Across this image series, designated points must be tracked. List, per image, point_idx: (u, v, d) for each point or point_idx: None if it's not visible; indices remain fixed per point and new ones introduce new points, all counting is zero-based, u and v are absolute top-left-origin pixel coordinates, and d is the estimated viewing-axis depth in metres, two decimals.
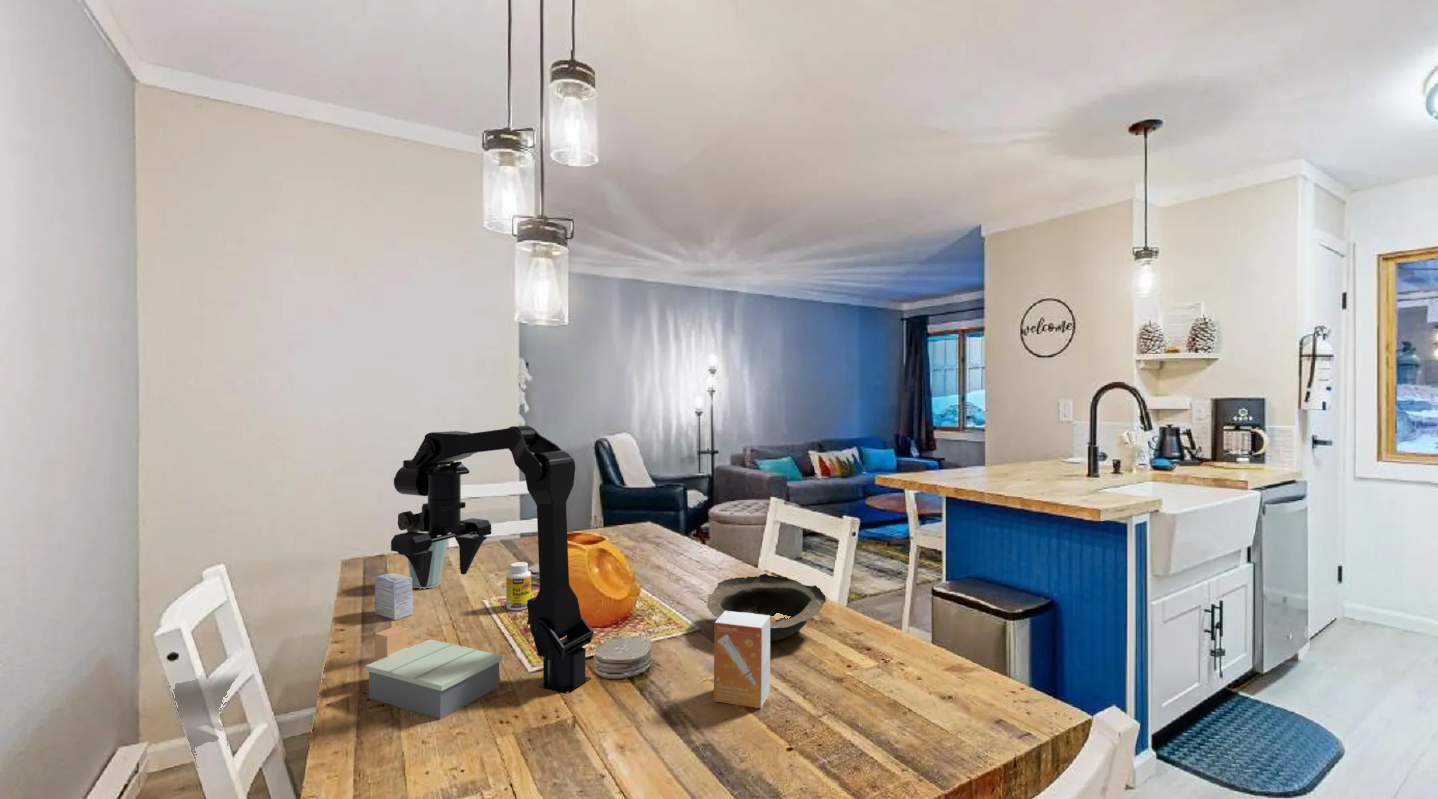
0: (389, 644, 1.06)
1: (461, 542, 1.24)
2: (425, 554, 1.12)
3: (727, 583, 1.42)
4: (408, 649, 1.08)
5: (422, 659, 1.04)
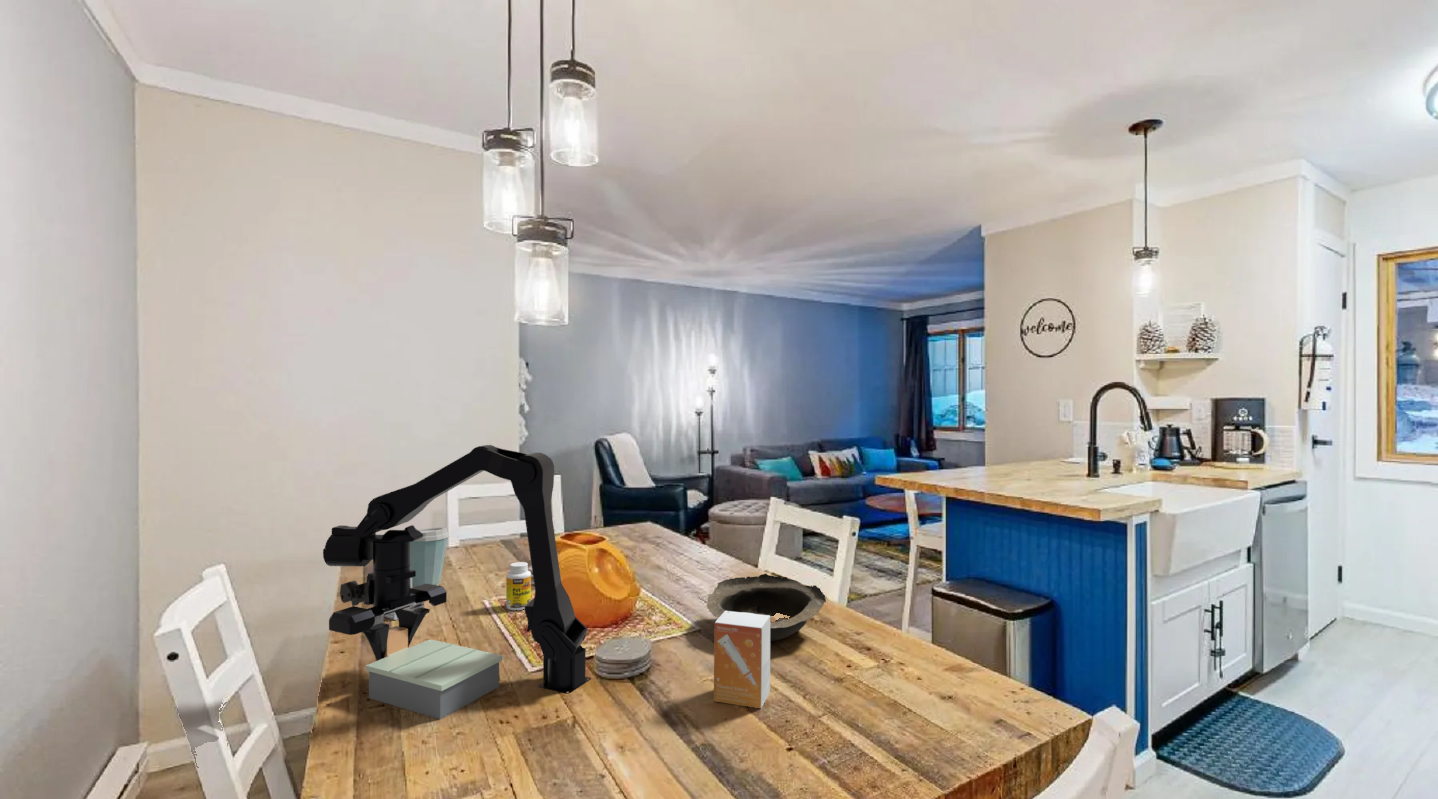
0: (389, 644, 1.06)
1: (400, 616, 1.11)
2: (381, 628, 1.03)
3: (727, 583, 1.42)
4: (408, 649, 1.08)
5: (422, 659, 1.04)
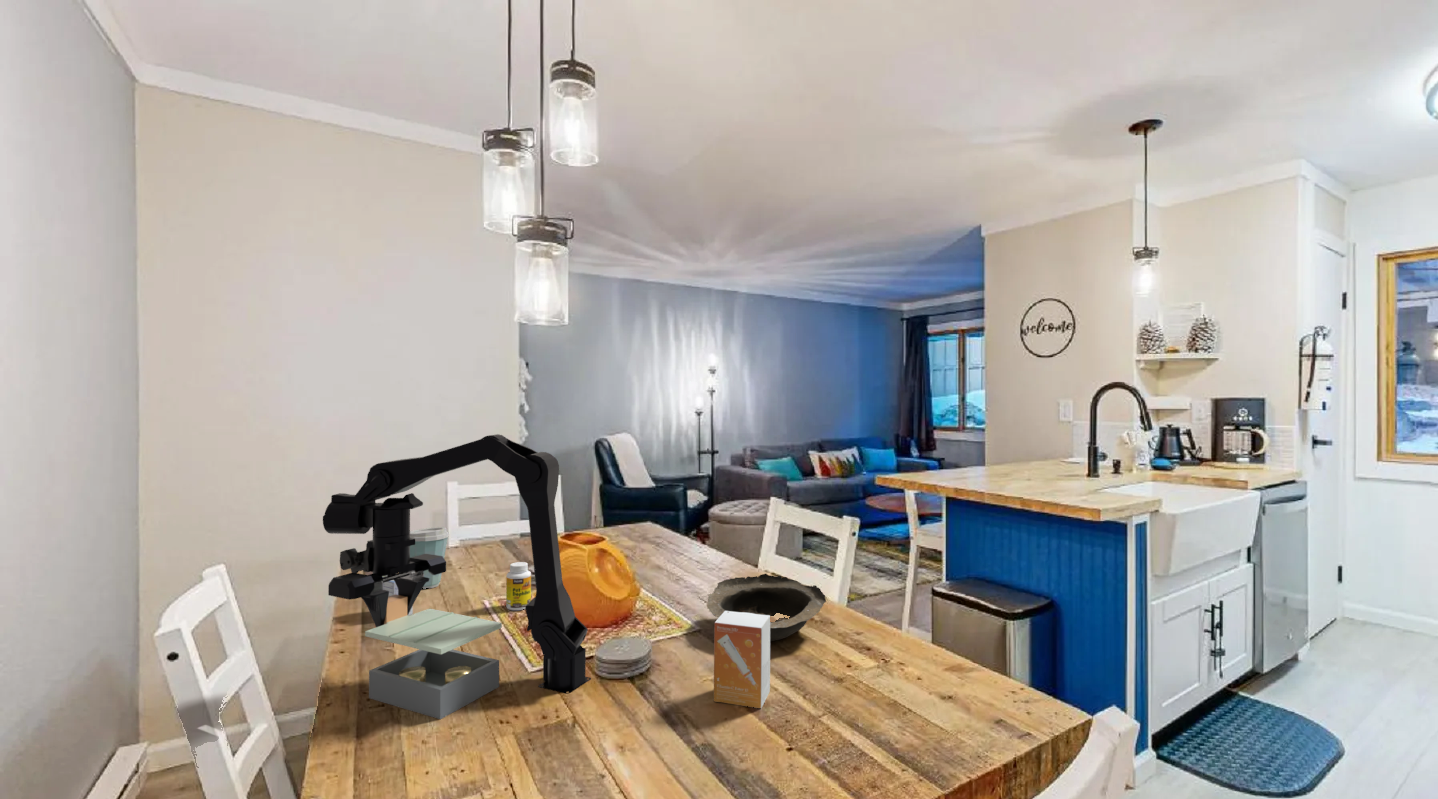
0: (389, 611, 1.06)
1: (400, 584, 1.11)
2: (380, 595, 1.03)
3: (727, 583, 1.42)
4: (407, 617, 1.08)
5: (421, 626, 1.04)
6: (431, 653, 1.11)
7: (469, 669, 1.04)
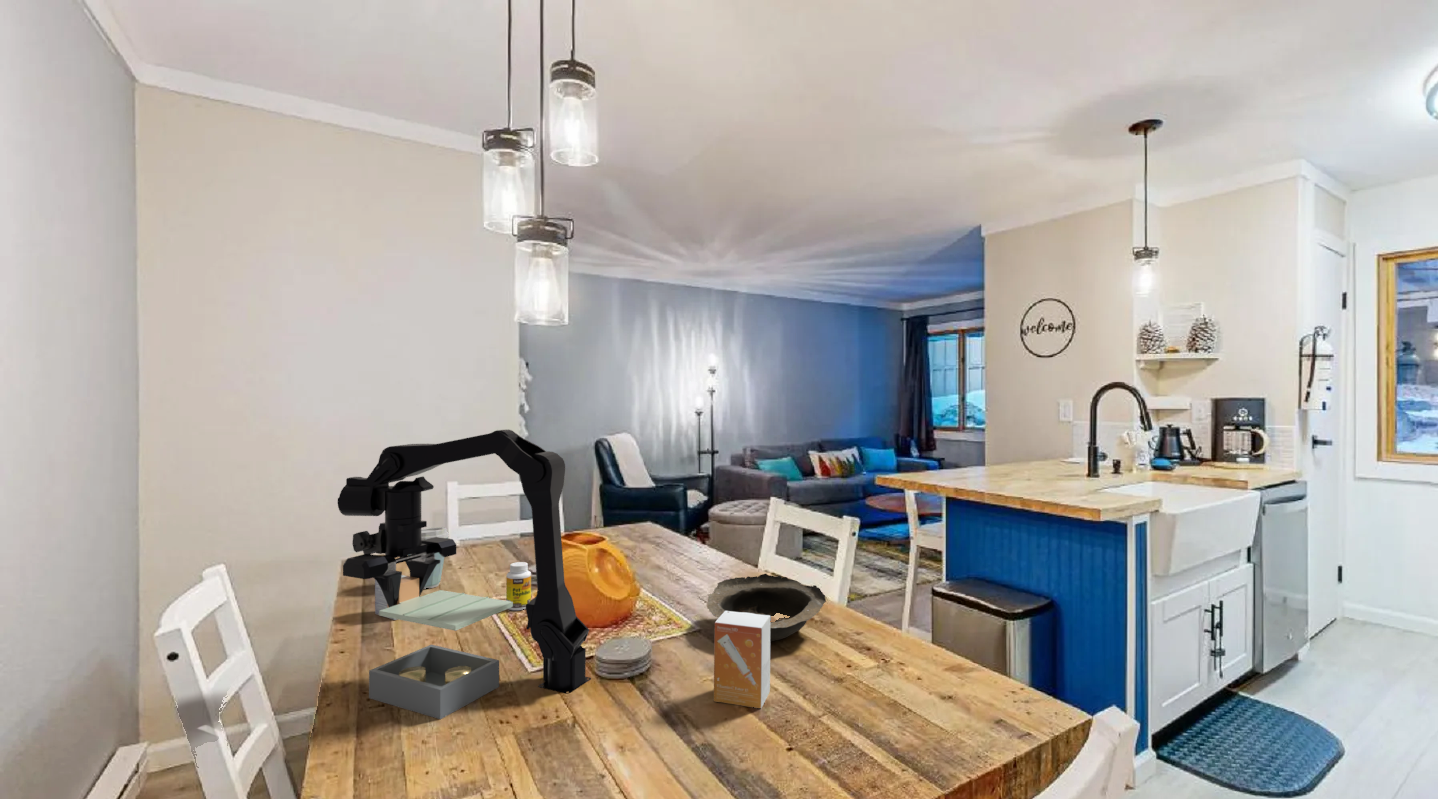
0: (401, 591, 1.08)
1: (411, 566, 1.13)
2: (394, 575, 1.05)
3: (727, 583, 1.42)
4: (419, 598, 1.10)
5: (434, 605, 1.06)
6: (431, 653, 1.11)
7: (469, 669, 1.04)
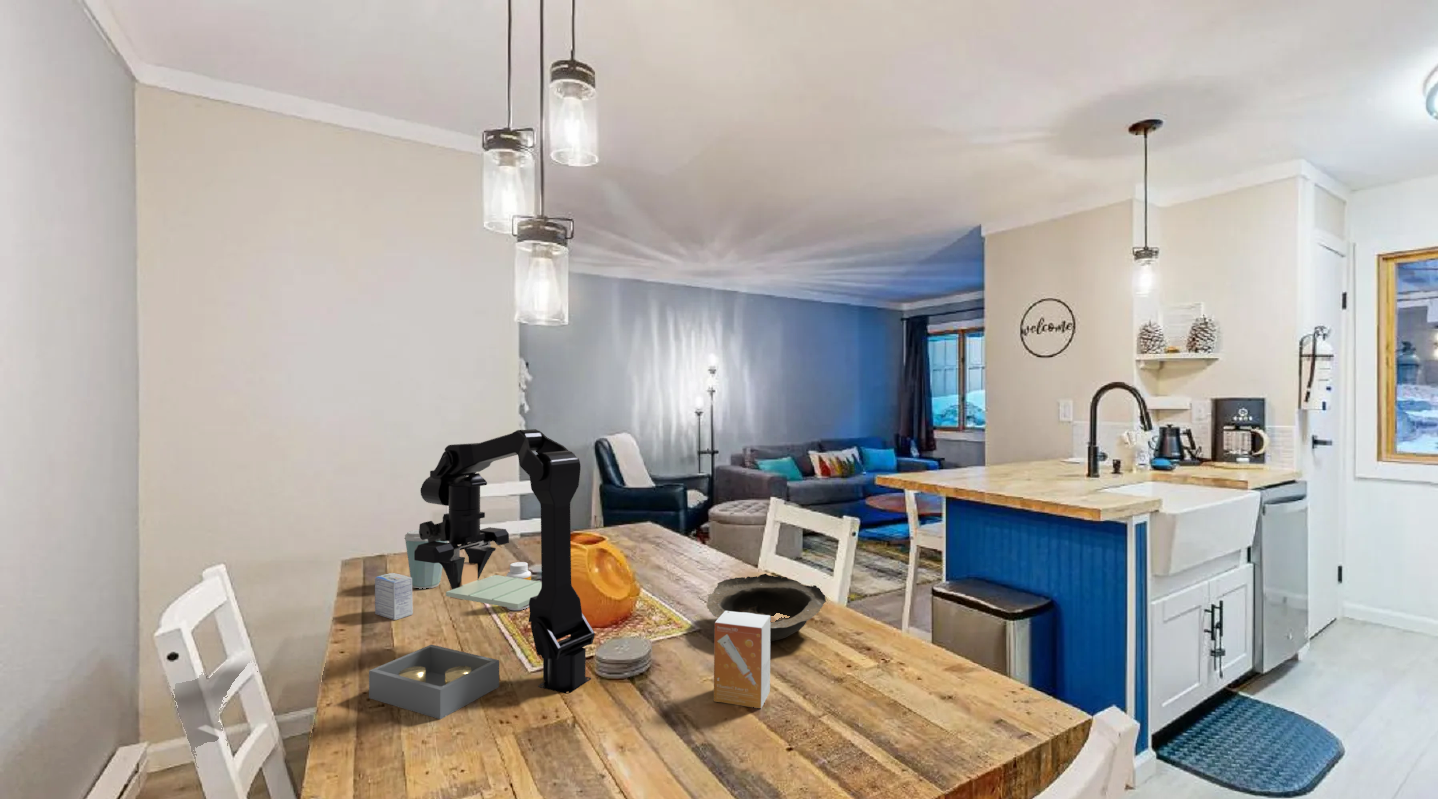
0: (463, 575, 1.21)
1: (470, 553, 1.25)
2: (458, 560, 1.17)
3: (727, 583, 1.42)
4: (478, 581, 1.23)
5: (494, 587, 1.19)
6: (431, 653, 1.11)
7: (469, 669, 1.04)
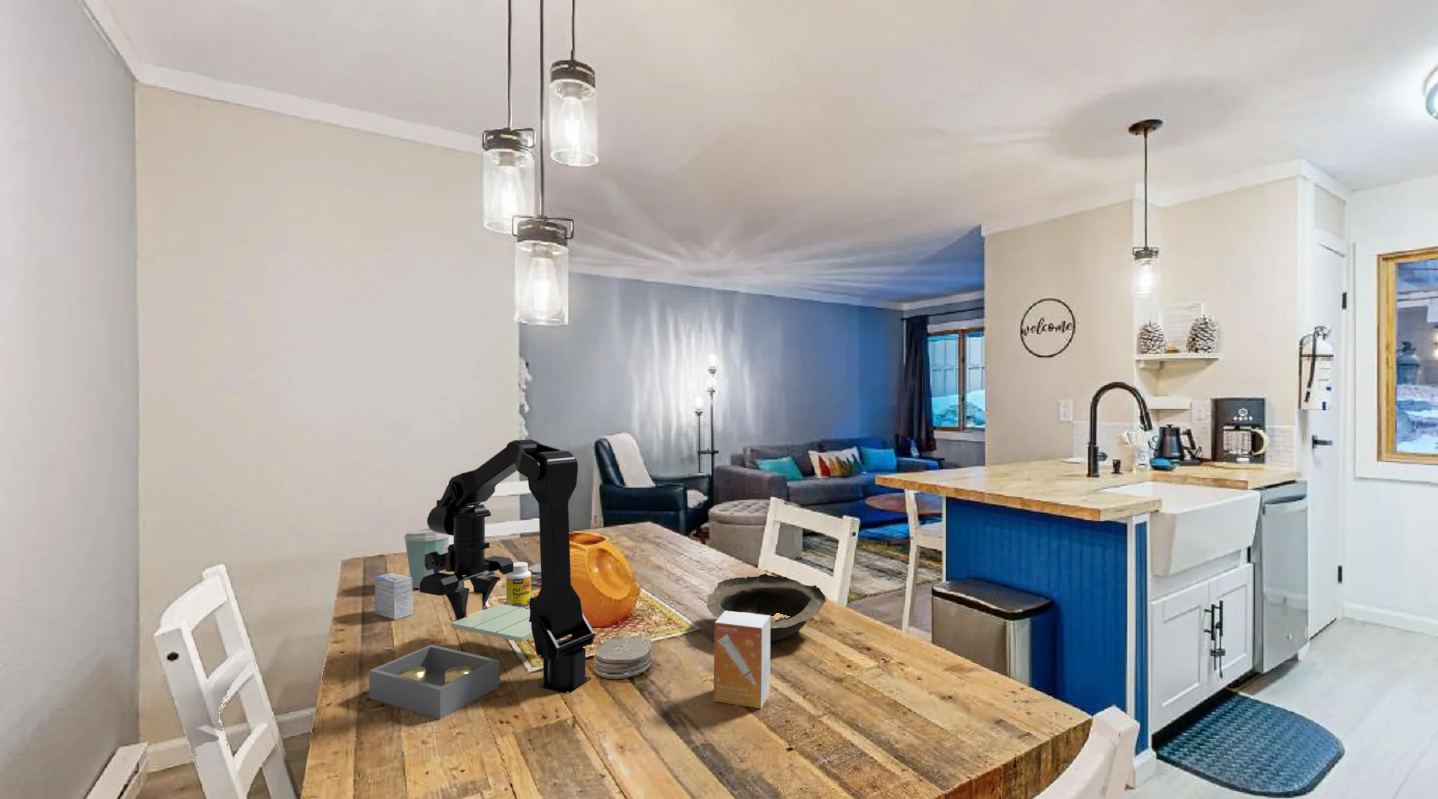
0: (468, 605, 1.22)
1: (475, 583, 1.26)
2: (463, 591, 1.18)
3: (727, 583, 1.42)
4: (483, 611, 1.23)
5: (498, 618, 1.19)
6: (431, 653, 1.11)
7: (469, 669, 1.04)
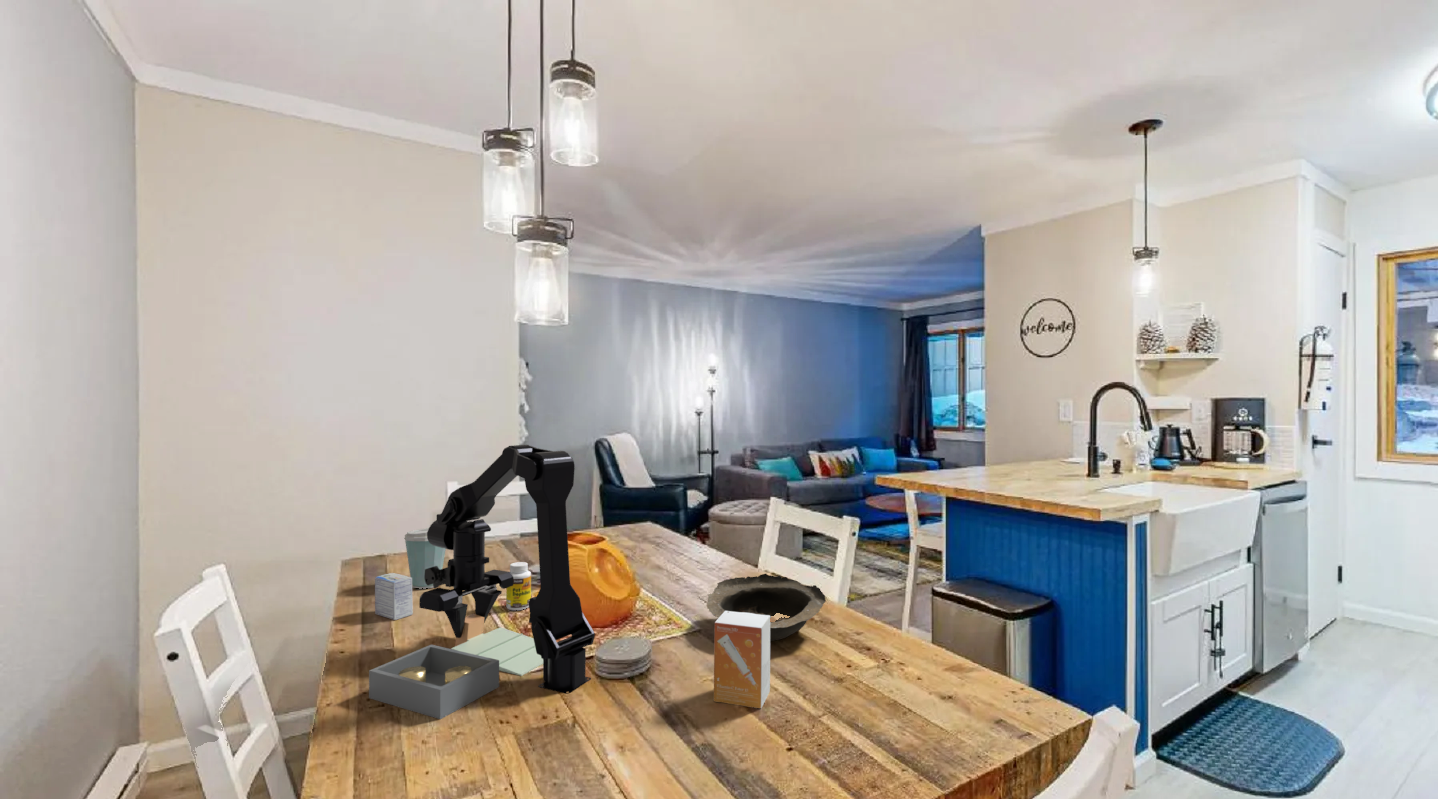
0: (469, 630, 1.21)
1: (476, 596, 1.27)
2: (461, 608, 1.18)
3: (727, 583, 1.42)
4: (484, 636, 1.24)
5: (498, 647, 1.20)
6: (431, 653, 1.11)
7: (469, 669, 1.04)
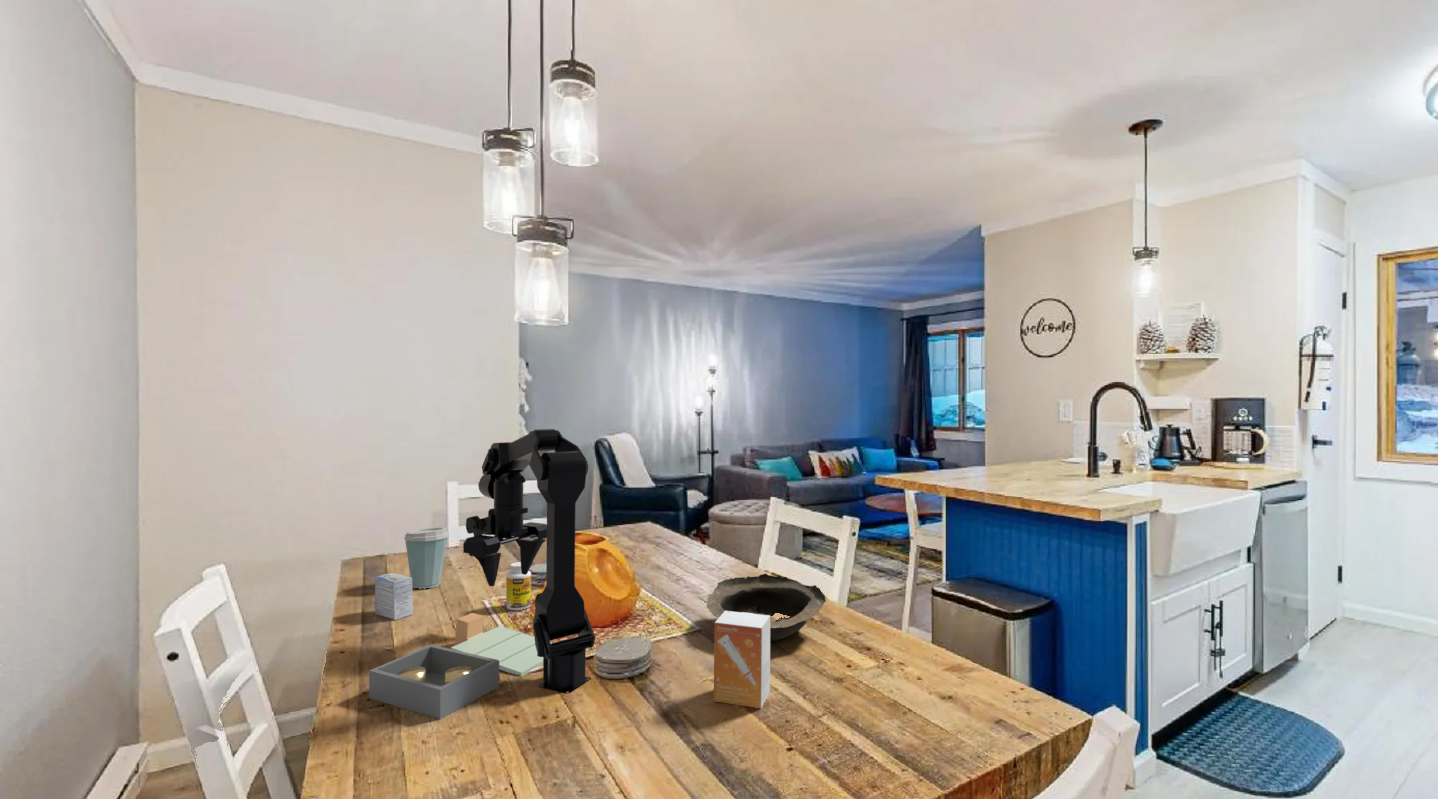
0: (469, 629, 1.21)
1: (521, 544, 1.33)
2: (495, 556, 1.21)
3: (727, 583, 1.42)
4: (483, 634, 1.24)
5: (498, 645, 1.20)
6: (431, 653, 1.11)
7: (469, 669, 1.04)
